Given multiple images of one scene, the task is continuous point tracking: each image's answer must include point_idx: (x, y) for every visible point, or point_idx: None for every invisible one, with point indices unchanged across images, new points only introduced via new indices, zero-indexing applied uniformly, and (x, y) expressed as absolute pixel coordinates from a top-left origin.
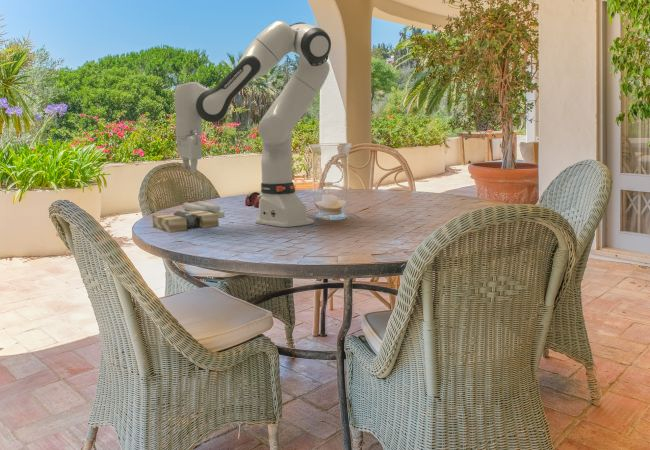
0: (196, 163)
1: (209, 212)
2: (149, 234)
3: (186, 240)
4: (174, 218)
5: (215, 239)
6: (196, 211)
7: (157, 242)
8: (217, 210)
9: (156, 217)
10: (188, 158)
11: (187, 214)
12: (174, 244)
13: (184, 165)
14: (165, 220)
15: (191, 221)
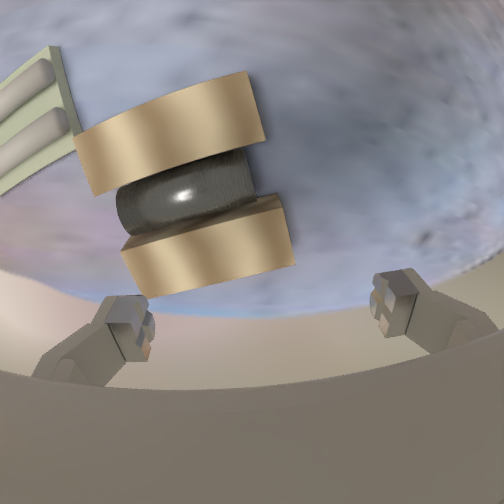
0: (468, 313)
1: (39, 98)
2: (290, 295)
3: (425, 222)
4: (255, 245)
5: (454, 155)
6: (105, 148)
7: None
8: (49, 68)
9: (178, 290)
10: (76, 381)
11: (225, 197)
12: (443, 252)
13: (136, 359)
14: (258, 271)
15: (251, 179)
